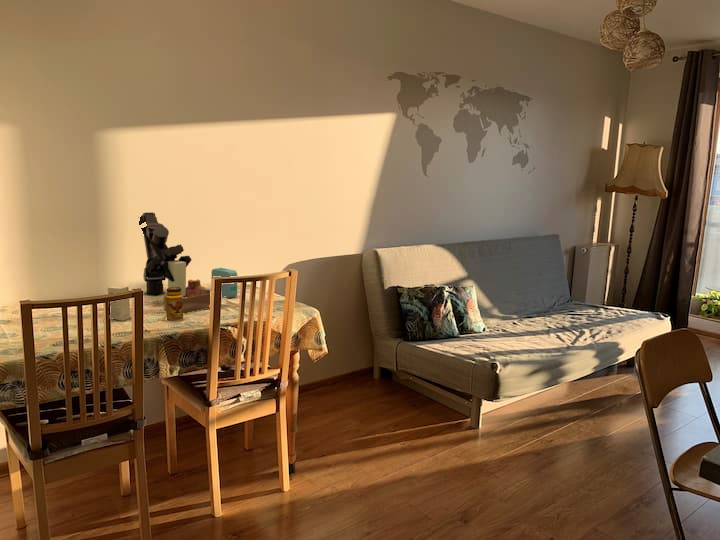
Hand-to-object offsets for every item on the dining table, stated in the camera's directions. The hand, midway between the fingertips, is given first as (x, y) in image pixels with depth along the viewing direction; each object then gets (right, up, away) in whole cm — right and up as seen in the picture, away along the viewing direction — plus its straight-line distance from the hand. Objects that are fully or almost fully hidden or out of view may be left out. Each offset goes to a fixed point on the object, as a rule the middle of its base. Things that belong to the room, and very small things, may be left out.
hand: (179, 280), depth 241 cm
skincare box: (-15, -14, -22) cm, 31 cm away
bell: (+1, -7, +20) cm, 22 cm away
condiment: (+4, -14, -20) cm, 25 cm away
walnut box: (+6, -11, -3) cm, 13 cm away
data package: (+14, -8, +21) cm, 26 cm away
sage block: (-2, -6, +2) cm, 7 cm away
